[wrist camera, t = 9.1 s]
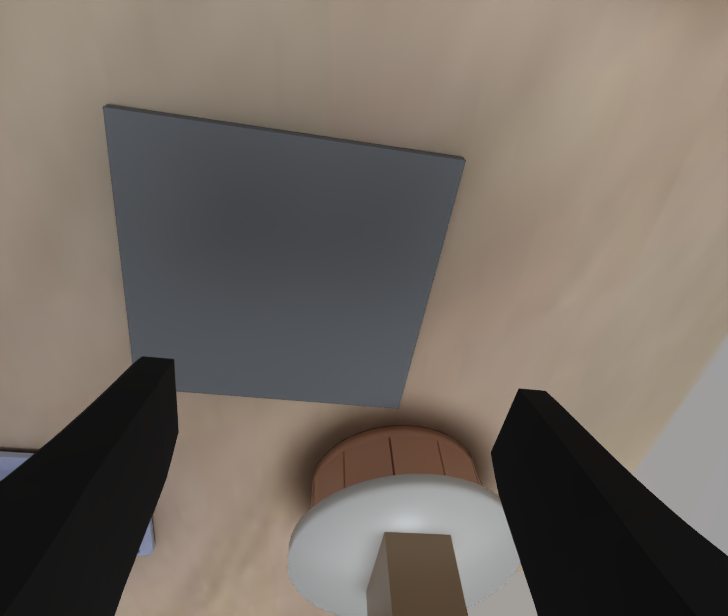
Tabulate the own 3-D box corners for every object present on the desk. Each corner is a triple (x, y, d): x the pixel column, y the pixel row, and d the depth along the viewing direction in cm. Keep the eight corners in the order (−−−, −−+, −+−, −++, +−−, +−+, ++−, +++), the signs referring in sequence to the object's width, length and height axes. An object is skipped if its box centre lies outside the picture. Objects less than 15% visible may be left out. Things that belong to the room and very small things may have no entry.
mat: (138, 382, 23) (135, 388, 22) (107, 104, 16) (103, 107, 16) (397, 402, 24) (398, 408, 24) (462, 157, 18) (465, 160, 17)
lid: (281, 604, 26) (273, 703, 23) (299, 465, 20) (293, 569, 17) (481, 609, 28) (503, 702, 24) (552, 481, 22) (596, 580, 18)
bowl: (304, 528, 29) (301, 598, 26) (322, 419, 25) (320, 488, 21) (452, 534, 31) (466, 602, 27) (496, 432, 26) (520, 499, 22)
